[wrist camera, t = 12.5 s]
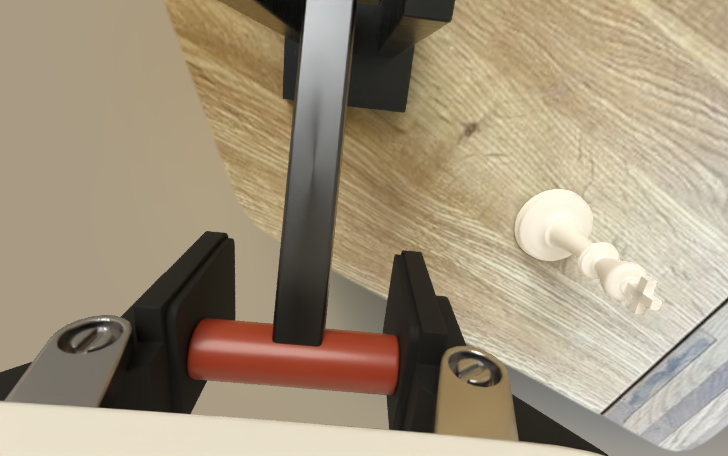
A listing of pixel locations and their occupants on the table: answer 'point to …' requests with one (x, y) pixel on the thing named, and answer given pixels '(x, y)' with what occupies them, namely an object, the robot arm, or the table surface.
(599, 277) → the chess piece
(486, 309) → the table surface
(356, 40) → the lever bracket
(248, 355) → the lever
